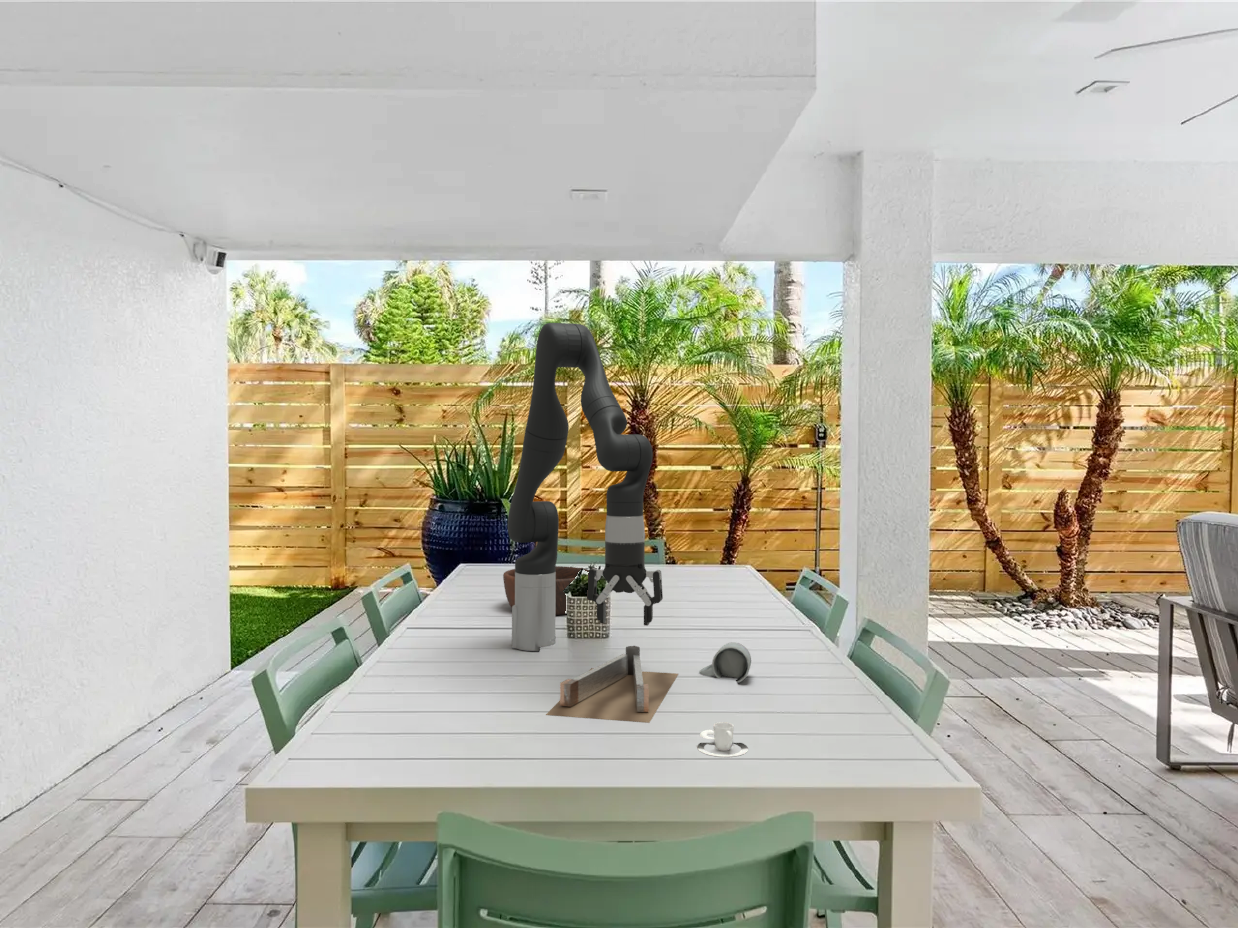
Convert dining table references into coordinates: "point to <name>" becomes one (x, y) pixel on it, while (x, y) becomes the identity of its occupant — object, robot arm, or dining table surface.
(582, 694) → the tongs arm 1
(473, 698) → the dining table surface
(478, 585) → the dining table surface
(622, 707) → the walnut board
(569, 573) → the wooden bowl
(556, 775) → the dining table surface
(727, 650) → the ceramic mug
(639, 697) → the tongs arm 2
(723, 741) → the teacup and saucer
